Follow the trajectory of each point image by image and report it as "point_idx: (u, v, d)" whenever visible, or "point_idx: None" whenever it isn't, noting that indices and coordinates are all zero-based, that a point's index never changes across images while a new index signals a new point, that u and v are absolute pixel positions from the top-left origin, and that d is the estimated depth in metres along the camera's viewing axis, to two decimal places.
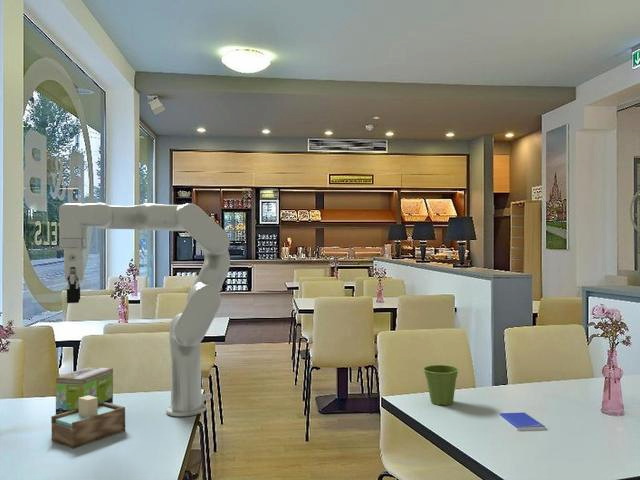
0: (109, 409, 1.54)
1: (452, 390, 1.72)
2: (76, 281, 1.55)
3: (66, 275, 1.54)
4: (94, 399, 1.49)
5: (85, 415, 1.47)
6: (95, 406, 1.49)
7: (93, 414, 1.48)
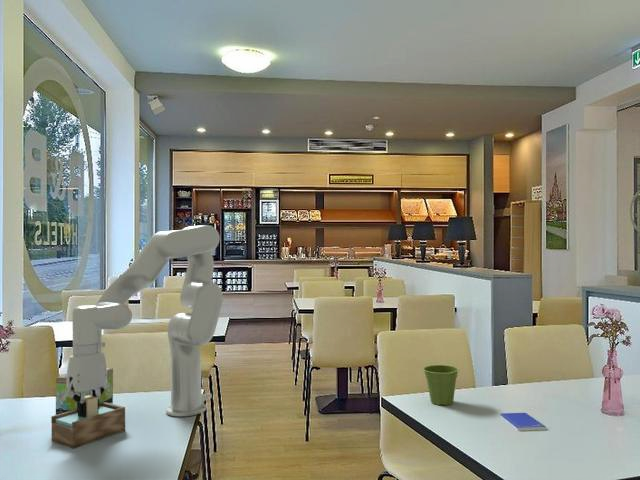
0: (109, 409, 1.54)
1: (452, 390, 1.72)
2: None
3: (106, 378, 1.53)
4: (94, 399, 1.49)
5: None
6: (95, 406, 1.49)
7: (93, 414, 1.48)
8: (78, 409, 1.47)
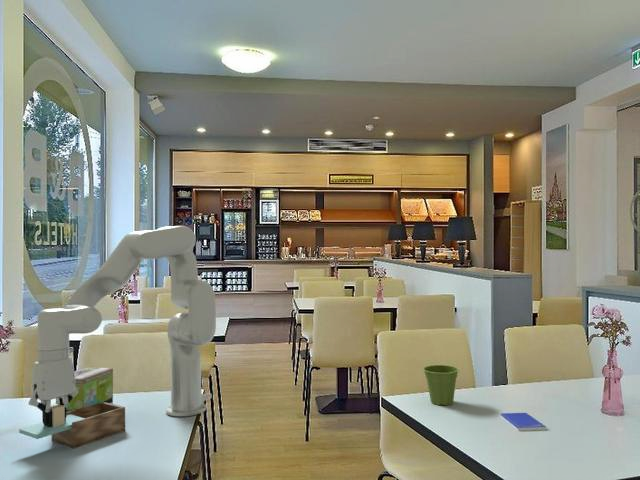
0: (78, 418, 1.46)
1: (452, 390, 1.72)
2: None
3: None
4: (61, 408, 1.41)
5: None
6: (62, 415, 1.41)
7: (60, 423, 1.40)
8: (43, 418, 1.39)
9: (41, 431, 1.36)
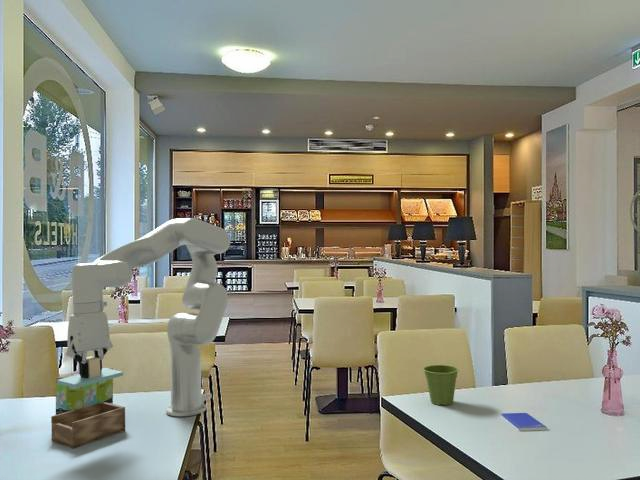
0: (112, 371, 1.49)
1: (452, 390, 1.72)
2: None
3: (109, 338, 1.47)
4: (96, 359, 1.43)
5: None
6: (97, 367, 1.43)
7: (96, 375, 1.43)
8: (80, 370, 1.42)
9: (78, 381, 1.39)
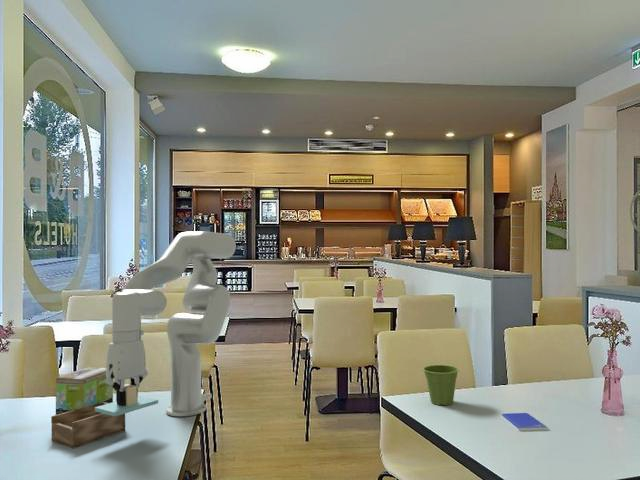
0: (147, 398, 1.51)
1: (452, 390, 1.72)
2: None
3: None
4: (133, 387, 1.45)
5: None
6: (134, 395, 1.45)
7: (132, 403, 1.45)
8: (117, 397, 1.44)
9: (117, 409, 1.40)
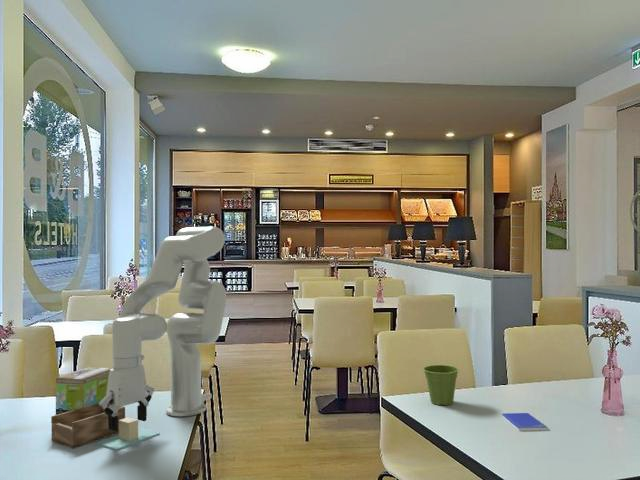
0: (149, 431, 1.51)
1: (452, 390, 1.72)
2: None
3: None
4: (135, 422, 1.46)
5: (126, 438, 1.44)
6: (136, 429, 1.46)
7: (134, 437, 1.45)
8: (109, 422, 1.42)
9: (118, 445, 1.41)
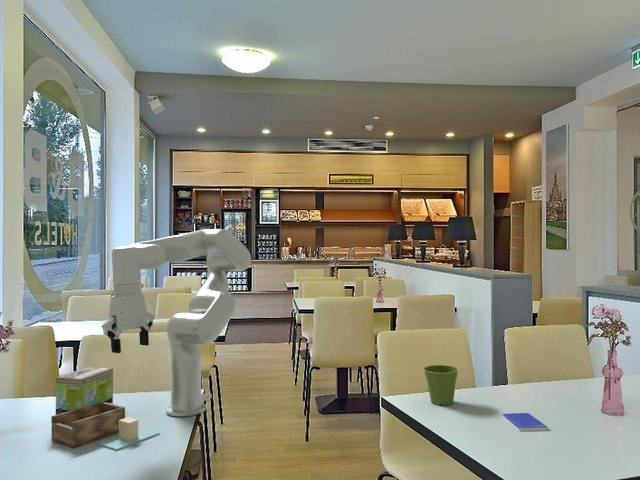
0: (148, 431, 1.51)
1: (452, 390, 1.72)
2: None
3: None
4: (135, 422, 1.46)
5: (126, 438, 1.44)
6: (136, 429, 1.46)
7: (134, 437, 1.45)
8: (112, 345, 1.47)
9: (119, 445, 1.41)
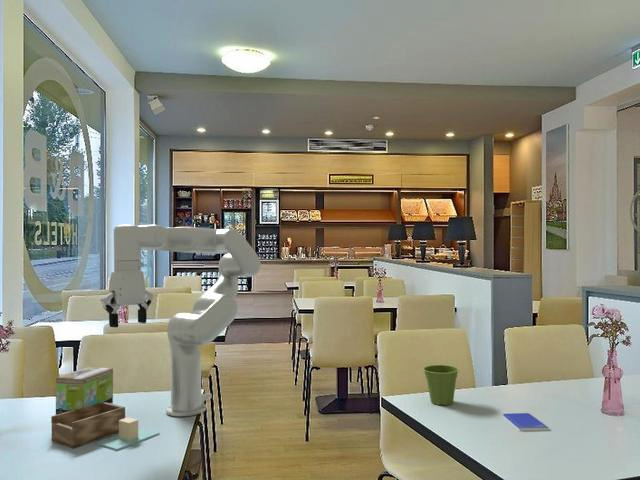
0: (148, 431, 1.51)
1: (452, 390, 1.72)
2: None
3: None
4: (135, 422, 1.46)
5: (126, 438, 1.44)
6: (136, 429, 1.46)
7: (134, 437, 1.45)
8: (110, 319, 1.51)
9: (119, 445, 1.41)
